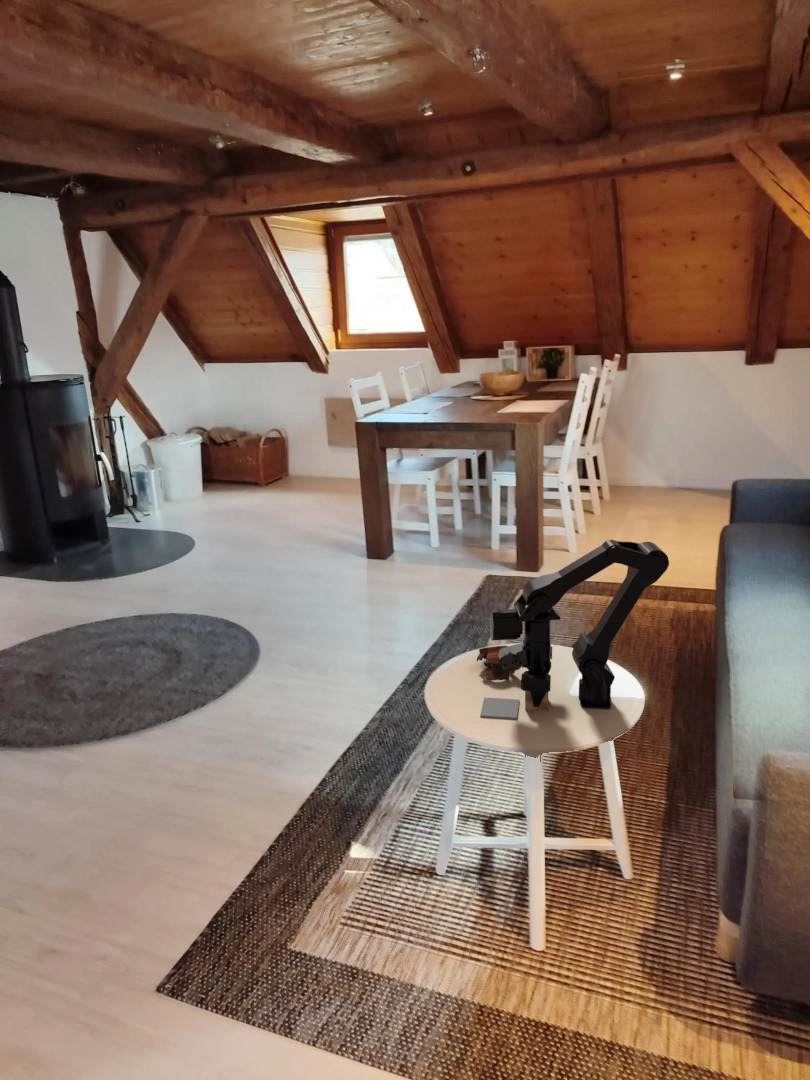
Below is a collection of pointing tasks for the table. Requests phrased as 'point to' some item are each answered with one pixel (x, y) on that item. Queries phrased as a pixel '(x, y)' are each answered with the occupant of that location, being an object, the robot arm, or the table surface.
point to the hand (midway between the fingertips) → (536, 700)
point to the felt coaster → (500, 708)
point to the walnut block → (529, 702)
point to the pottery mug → (495, 664)
